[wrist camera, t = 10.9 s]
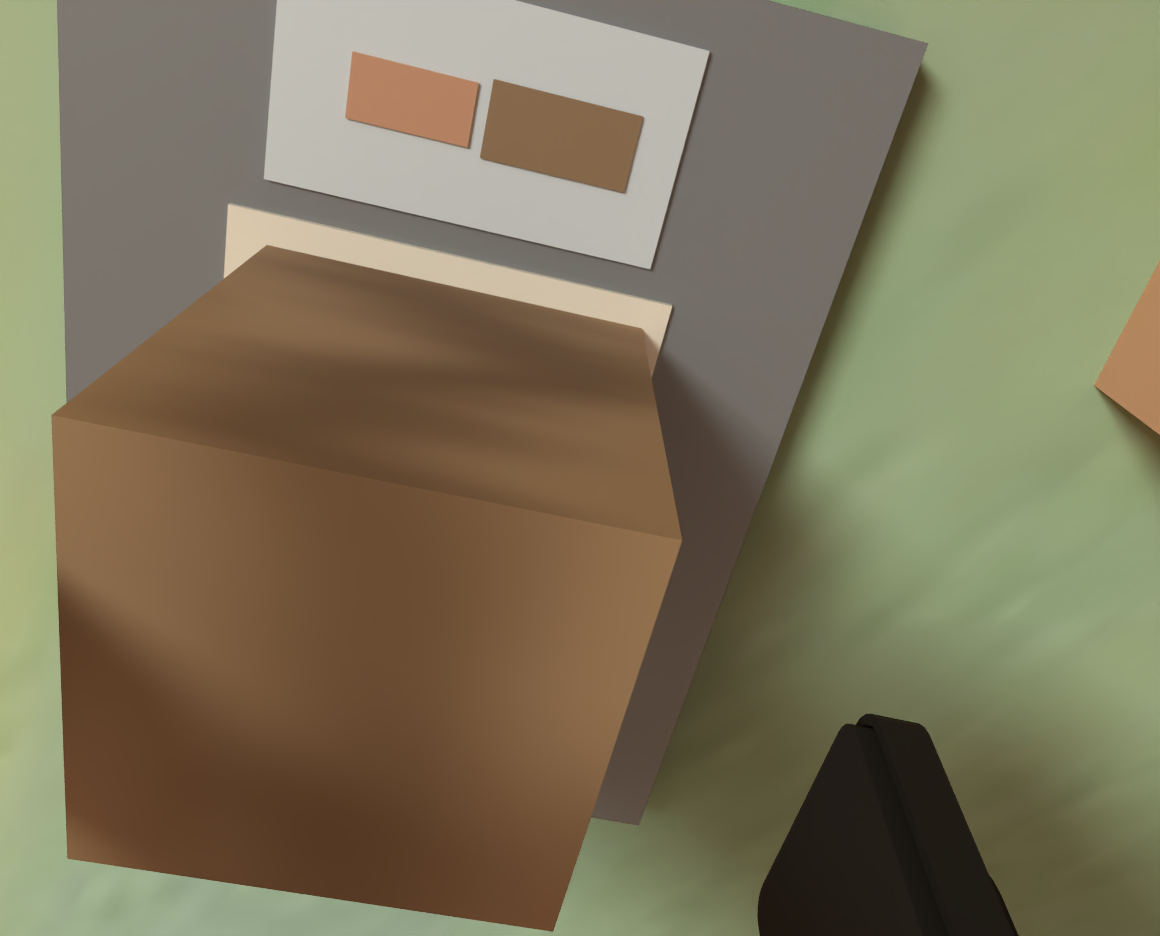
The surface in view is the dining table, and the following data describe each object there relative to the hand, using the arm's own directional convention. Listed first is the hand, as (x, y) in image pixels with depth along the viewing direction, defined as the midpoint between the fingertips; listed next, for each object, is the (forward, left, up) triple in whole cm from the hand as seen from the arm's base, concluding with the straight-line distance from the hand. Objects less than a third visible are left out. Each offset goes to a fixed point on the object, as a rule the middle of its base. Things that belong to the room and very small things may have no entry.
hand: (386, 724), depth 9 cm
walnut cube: (+1, 0, -7) cm, 7 cm away
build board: (+1, 0, -8) cm, 8 cm away
